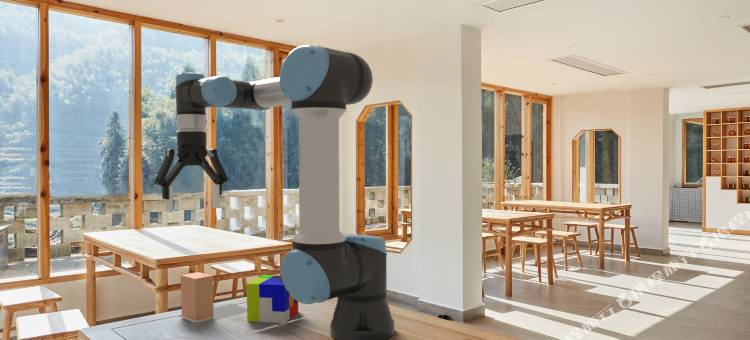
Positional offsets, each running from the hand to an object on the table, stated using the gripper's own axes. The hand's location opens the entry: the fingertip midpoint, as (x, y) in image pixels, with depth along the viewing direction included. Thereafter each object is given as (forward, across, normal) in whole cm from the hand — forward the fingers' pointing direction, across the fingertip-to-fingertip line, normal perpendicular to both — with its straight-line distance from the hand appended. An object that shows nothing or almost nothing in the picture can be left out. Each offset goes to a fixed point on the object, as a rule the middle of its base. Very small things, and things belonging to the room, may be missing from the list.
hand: (193, 209), depth 150 cm
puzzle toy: (+28, -10, +22) cm, 37 cm away
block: (+27, +4, +8) cm, 29 cm away
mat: (+28, -2, +8) cm, 29 cm away
